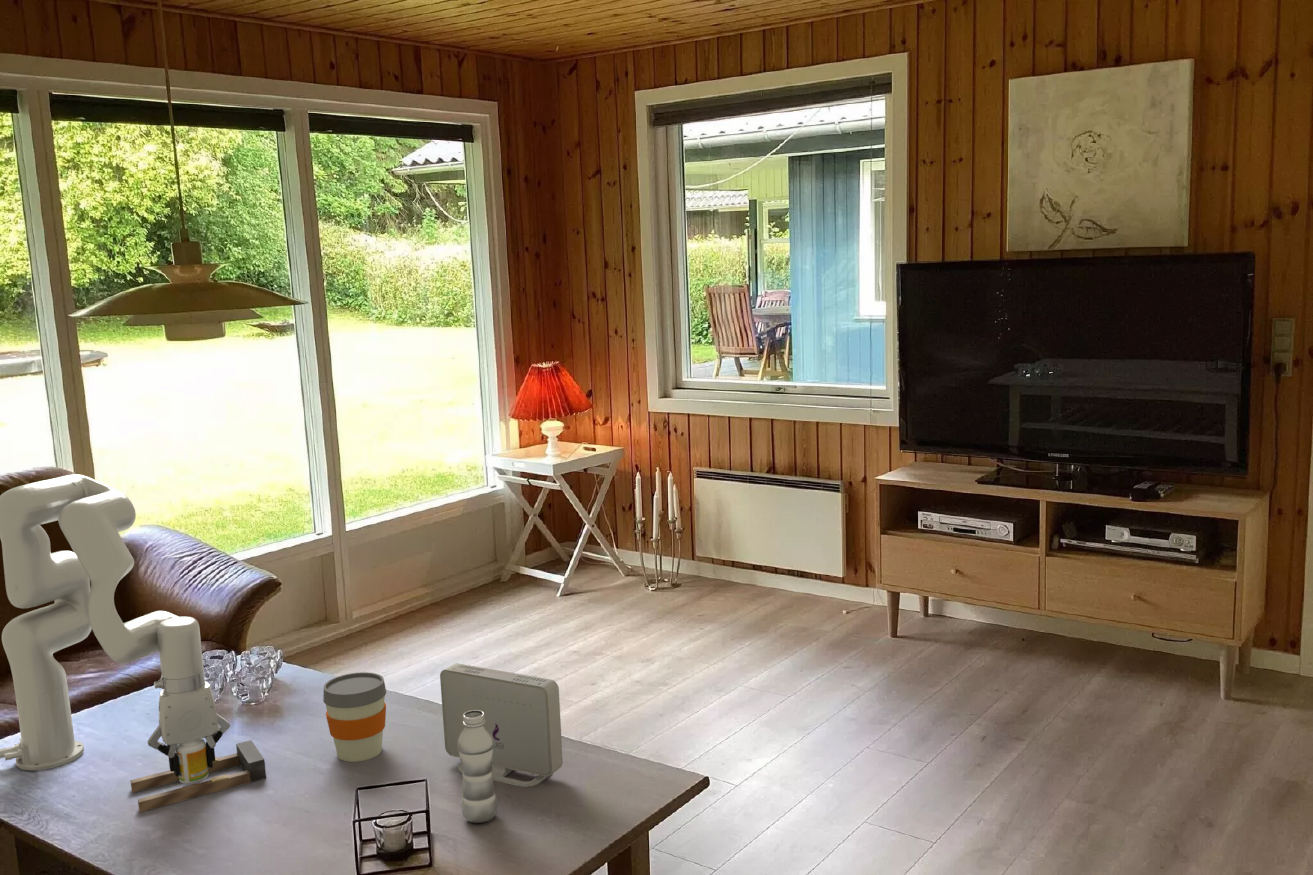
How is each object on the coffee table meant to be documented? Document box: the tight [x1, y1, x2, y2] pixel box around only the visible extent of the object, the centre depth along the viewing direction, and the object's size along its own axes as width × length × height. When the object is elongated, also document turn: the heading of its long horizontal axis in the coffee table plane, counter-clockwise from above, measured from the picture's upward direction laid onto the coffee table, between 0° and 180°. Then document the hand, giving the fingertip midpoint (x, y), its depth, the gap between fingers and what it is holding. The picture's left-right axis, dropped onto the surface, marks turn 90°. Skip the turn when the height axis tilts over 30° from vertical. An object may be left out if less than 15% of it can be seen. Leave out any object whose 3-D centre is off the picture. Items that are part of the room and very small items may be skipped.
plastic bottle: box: [457, 710, 499, 824], centre depth 201 cm, size 6×7×20 cm
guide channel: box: [130, 739, 267, 813], centre depth 220 cm, size 23×11×4 cm, turn 122°
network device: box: [439, 663, 564, 788], centre depth 219 cm, size 26×9×20 cm, turn 62°
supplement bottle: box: [176, 738, 210, 785], centre depth 219 cm, size 5×5×10 cm
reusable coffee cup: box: [322, 671, 387, 763], centre depth 231 cm, size 13×13×15 cm
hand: (193, 768), depth 219 cm, fingers closed on supplement bottle, 5 cm apart
